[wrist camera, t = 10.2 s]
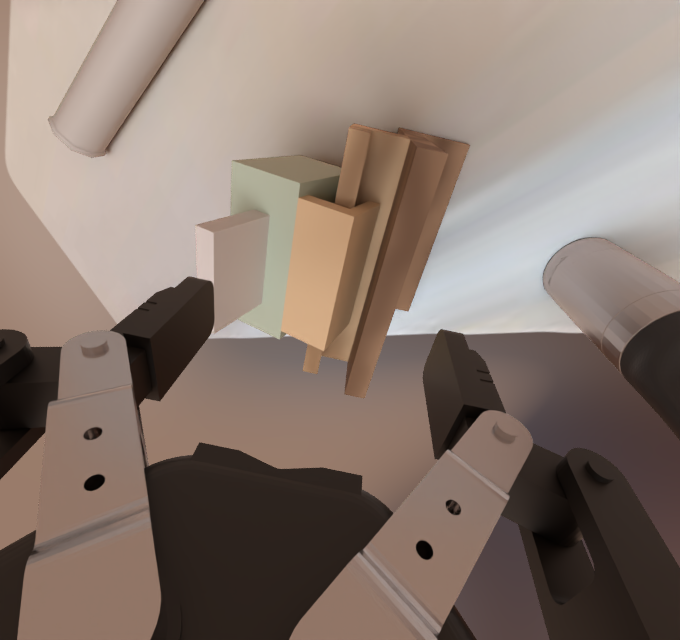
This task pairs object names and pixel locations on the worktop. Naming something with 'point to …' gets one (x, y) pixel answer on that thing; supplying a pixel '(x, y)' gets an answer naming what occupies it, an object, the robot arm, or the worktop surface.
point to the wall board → (389, 233)
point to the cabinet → (286, 250)
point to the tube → (119, 70)
